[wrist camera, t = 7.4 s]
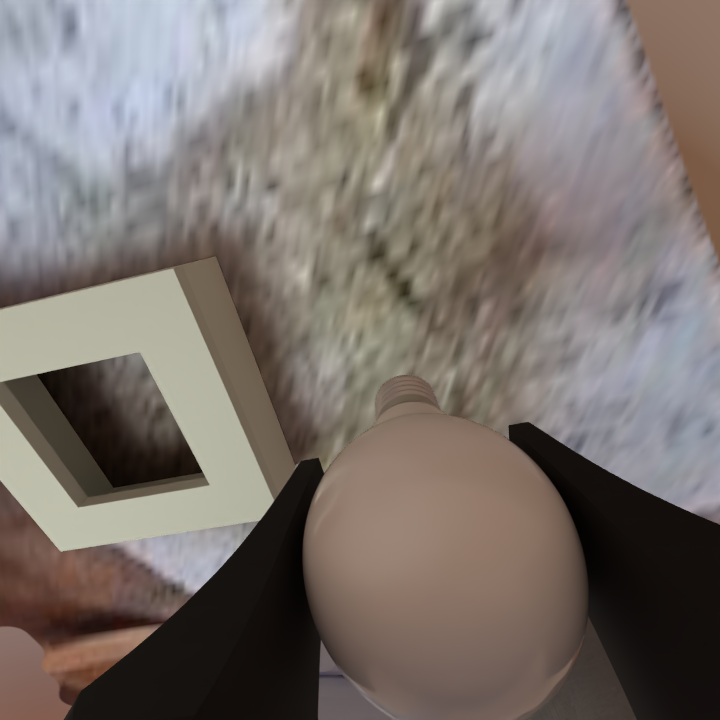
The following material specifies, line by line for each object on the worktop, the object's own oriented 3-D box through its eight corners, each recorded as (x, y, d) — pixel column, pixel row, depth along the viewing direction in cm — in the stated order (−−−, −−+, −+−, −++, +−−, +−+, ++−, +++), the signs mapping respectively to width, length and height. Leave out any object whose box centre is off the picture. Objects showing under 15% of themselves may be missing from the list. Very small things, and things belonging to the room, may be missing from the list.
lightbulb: (497, 411, 16) (735, 758, 5) (384, 471, 17) (403, 831, 7) (428, 301, 14) (590, 509, 4) (308, 378, 15) (182, 681, 5)
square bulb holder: (295, 465, 24) (281, 517, 20) (109, 497, 26) (60, 551, 22) (215, 256, 18) (173, 268, 14) (-20, 312, 20) (-120, 338, 16)
